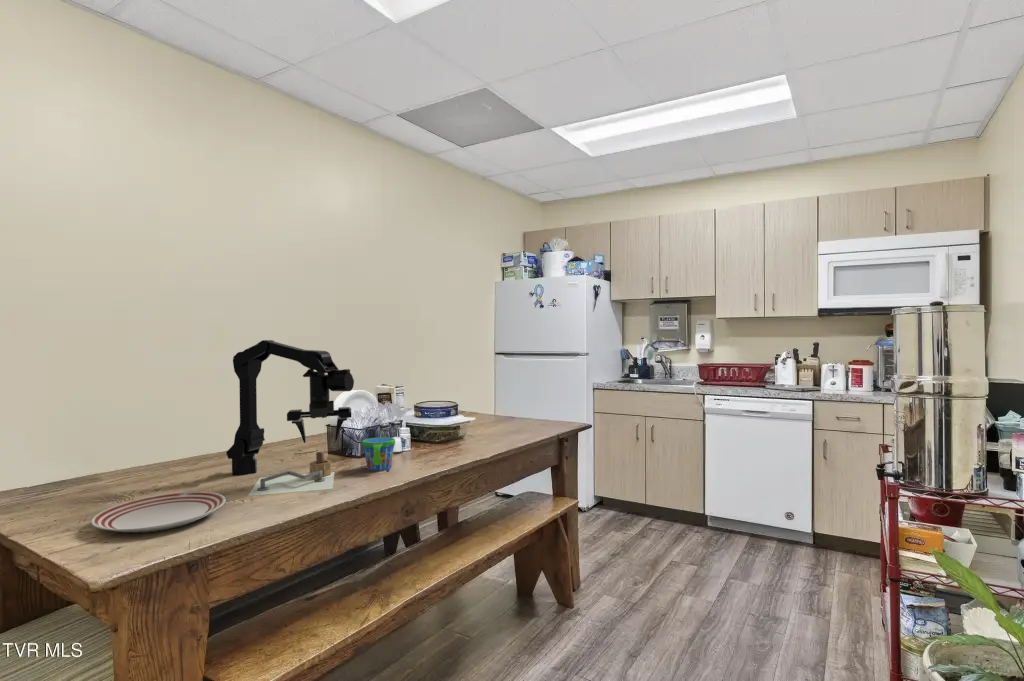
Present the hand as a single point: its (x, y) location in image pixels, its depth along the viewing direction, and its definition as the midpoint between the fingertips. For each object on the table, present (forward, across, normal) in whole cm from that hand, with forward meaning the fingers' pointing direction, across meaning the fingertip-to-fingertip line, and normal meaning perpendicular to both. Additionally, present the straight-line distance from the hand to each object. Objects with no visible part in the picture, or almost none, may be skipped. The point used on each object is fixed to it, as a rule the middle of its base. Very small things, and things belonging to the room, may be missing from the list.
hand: (320, 441), depth 172 cm
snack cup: (+12, +18, +5) cm, 22 cm away
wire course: (+12, -7, -6) cm, 15 cm away
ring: (+10, 0, 0) cm, 10 cm away
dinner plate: (+12, -35, -29) cm, 47 cm away
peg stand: (+11, 0, 0) cm, 11 cm away
